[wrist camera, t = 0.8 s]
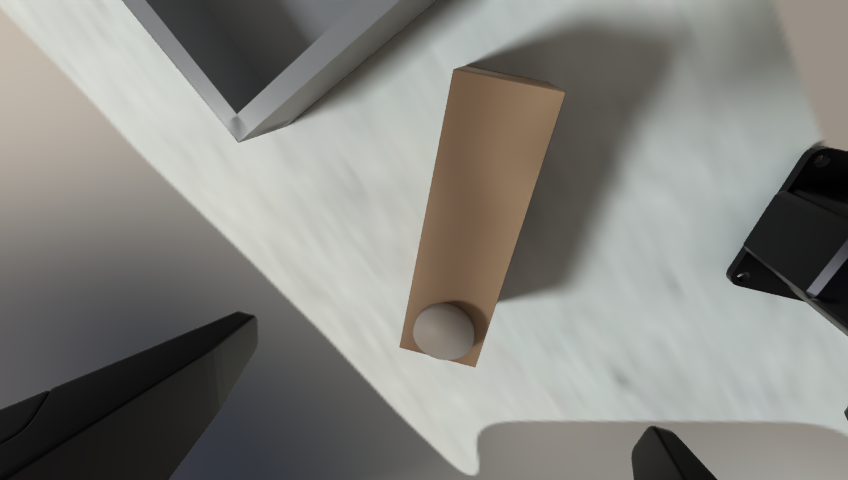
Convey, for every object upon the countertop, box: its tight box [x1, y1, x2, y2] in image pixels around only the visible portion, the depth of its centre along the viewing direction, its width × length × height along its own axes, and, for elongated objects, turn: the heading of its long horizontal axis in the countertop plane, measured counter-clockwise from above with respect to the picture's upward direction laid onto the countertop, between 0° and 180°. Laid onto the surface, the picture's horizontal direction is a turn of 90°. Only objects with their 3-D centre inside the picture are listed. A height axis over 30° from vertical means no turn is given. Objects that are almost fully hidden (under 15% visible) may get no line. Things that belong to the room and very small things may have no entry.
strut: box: [400, 66, 566, 367], centre depth 17 cm, size 4×12×6 cm, turn 170°
